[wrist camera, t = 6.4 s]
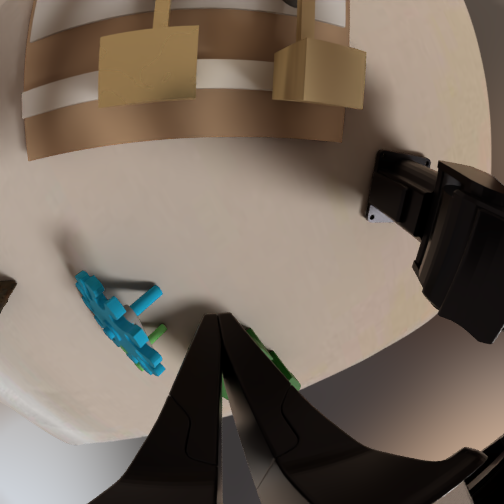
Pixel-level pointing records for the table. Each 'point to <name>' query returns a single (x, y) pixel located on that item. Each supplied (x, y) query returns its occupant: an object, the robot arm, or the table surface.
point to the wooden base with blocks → (207, 78)
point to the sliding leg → (149, 63)
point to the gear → (124, 322)
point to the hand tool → (5, 292)
